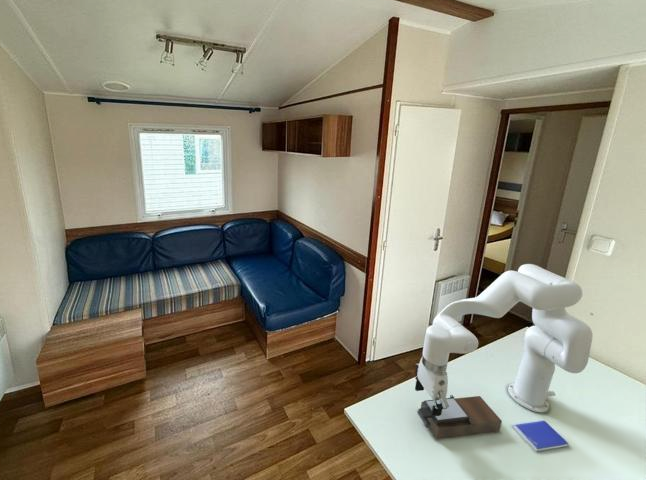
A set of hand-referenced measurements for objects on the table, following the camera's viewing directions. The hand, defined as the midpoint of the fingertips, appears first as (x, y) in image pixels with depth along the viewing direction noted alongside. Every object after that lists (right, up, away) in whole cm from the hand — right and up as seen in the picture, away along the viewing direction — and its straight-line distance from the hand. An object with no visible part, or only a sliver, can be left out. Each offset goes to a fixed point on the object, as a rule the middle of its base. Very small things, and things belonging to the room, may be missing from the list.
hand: (427, 401), depth 101 cm
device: (+6, -4, +2) cm, 7 cm away
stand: (+14, -10, +4) cm, 17 cm away
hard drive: (+39, -12, 0) cm, 41 cm away
